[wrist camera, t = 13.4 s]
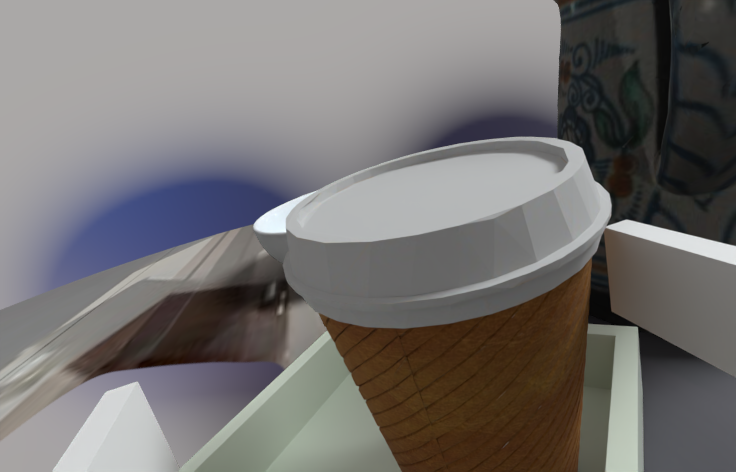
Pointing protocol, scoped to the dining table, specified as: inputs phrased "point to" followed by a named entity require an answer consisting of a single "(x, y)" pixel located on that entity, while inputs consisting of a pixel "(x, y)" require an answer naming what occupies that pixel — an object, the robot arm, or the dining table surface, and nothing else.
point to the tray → (362, 435)
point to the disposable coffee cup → (460, 298)
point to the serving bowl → (275, 229)
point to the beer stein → (652, 115)
